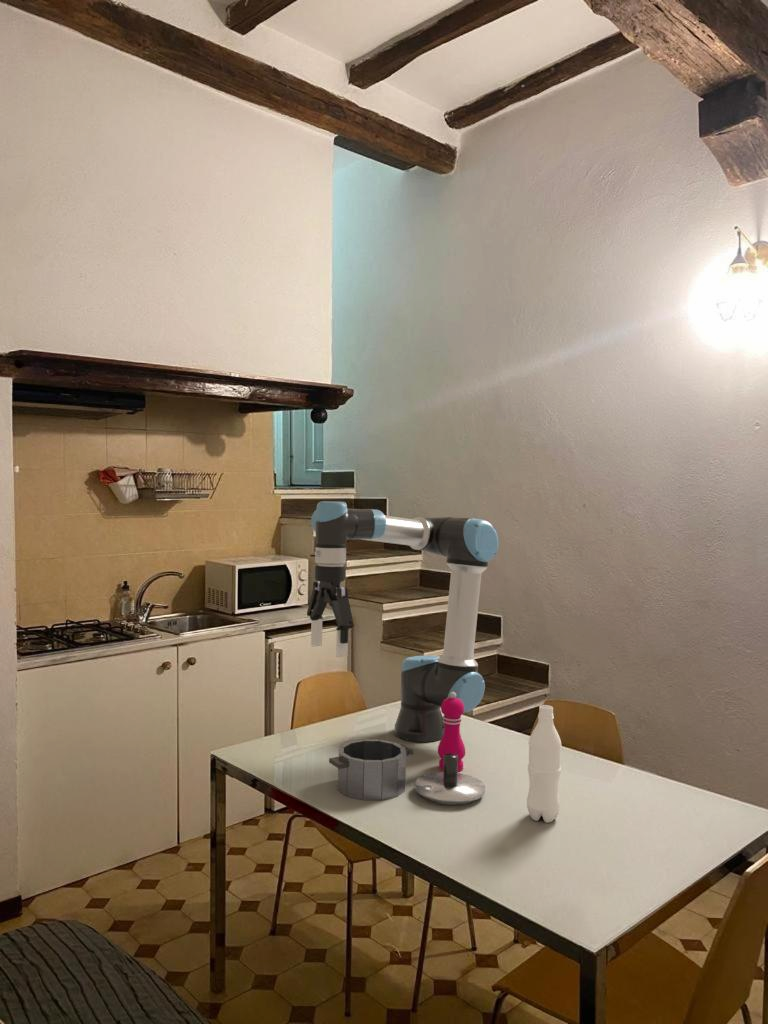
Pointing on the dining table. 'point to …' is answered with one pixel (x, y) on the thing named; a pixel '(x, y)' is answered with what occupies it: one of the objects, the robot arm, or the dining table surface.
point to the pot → (371, 769)
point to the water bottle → (544, 767)
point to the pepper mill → (452, 730)
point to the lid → (450, 784)
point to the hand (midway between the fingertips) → (328, 651)
